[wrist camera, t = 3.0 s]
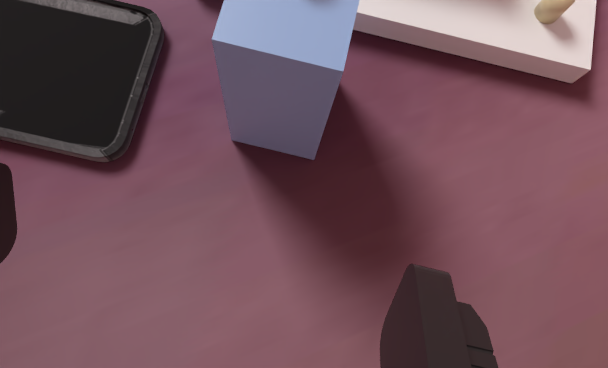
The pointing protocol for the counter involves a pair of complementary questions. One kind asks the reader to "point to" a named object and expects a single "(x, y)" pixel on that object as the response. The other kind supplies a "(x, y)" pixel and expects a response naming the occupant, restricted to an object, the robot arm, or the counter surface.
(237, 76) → the block
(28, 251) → the counter surface
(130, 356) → the counter surface
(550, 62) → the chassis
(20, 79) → the phone
